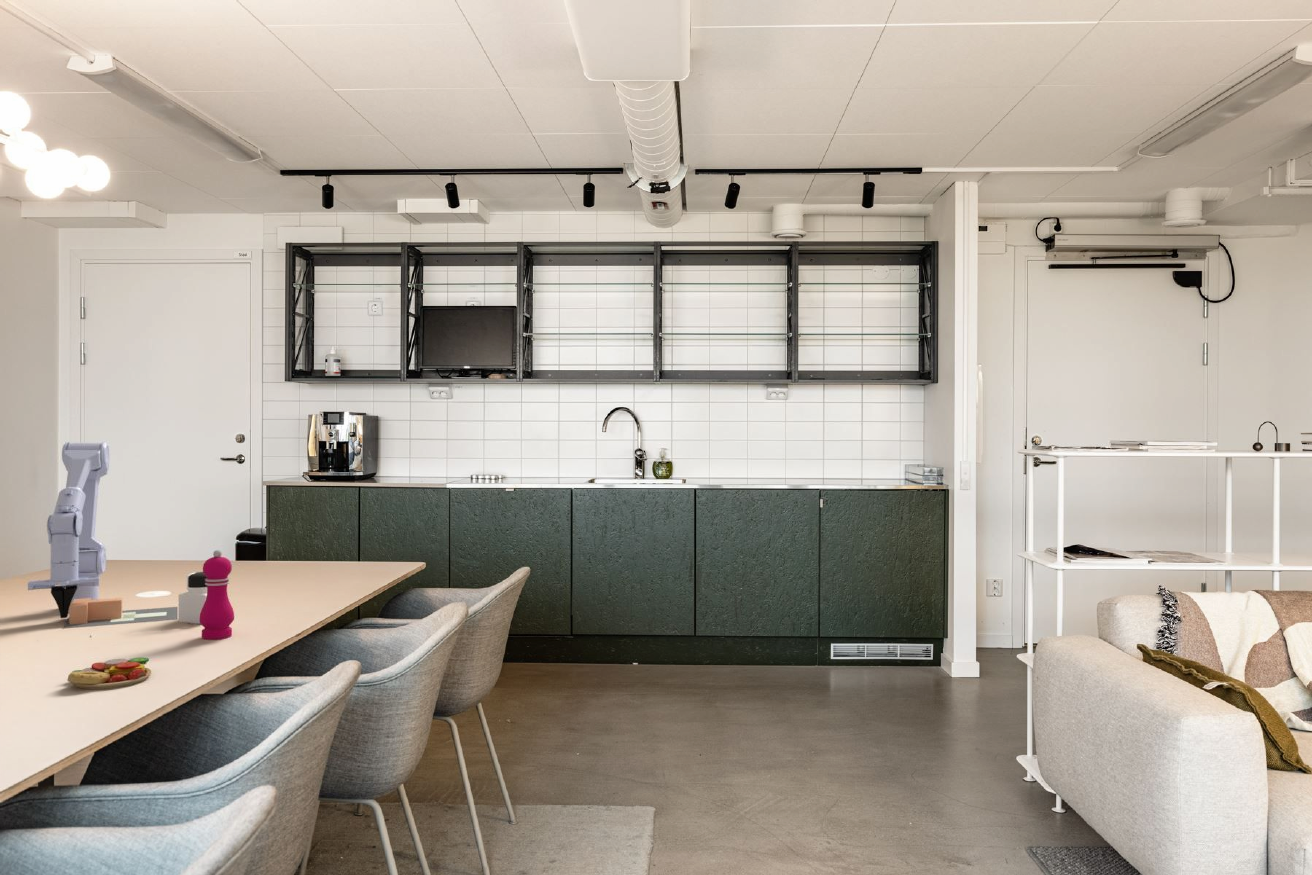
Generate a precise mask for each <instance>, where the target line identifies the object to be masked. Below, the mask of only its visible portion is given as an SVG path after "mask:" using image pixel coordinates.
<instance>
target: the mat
mask: <svg viewBox="0 0 1312 875" xmlns="http://www.w3.org/2000/svg"><path fill="white" fill-rule="evenodd" d="M178 610H179V606H169V607H154V608H143V609H141V608H139V609H130V610H122V618H119V619H106V620H93V621H88V622H87V623H86V624H73V625H70V615H68V617H67V618H66V621H65V623H64V624H63V626H62V628H61V629H62V630H63V629H75V628H86V627H87V628H88V627H99V626H102V627H103V626H112V625H113V626H114V625H125V624H137V623H139V624H141V623H151V622H163V621H178Z"/></svg>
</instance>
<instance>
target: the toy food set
mask: <svg viewBox="0 0 1312 875" xmlns="http://www.w3.org/2000/svg"><path fill="white" fill-rule="evenodd" d="M149 661H150V658H149V657H142V656H141V657H140V656H139V657H133V658H129V659H126V658H114V659H109V660H105V661H103V662H101V661H100V662H94V663H92V664H91V667H85V668H84V669H77V670H72V671H71V672H69V674H68V677H67V679H66V680H67V682H69V683H72V684H73V685H75V686H76V687H77V688H80V689H87V690H107V689H115V688H123V687H127V686H131V685H134V684H135V685H137V684H138V683H141V682H144V681H145V680H147V678H149V677H150V676H151V675H152V670H151V669H150V668H148V667H146V666H145V665H147V663H148V662H149Z"/></svg>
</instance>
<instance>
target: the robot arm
mask: <svg viewBox="0 0 1312 875" xmlns="http://www.w3.org/2000/svg"><path fill="white" fill-rule="evenodd" d="M110 455H111V454H110V446H109V445H108V443H107V442H103V441H102V442H70V441H66V442H65V443H64V444H63V445H62V450H61V461H62V463H63V465H64V468H65V470H66V471H67V474H66V475H67V476H66V484H65V488H63V489H61V490H60V491H59V492H58V495H57V499H56V500H57V501H56V504H55V507H54V511H53V513H52V514H51V515H48V518H47V522H46V532H47V537H48V544H50V567H49V568H50V569H49V570H50V573H49V574H50V575H49V576H50V578H49V579H39V580H29V581H28V582H27V591H33V590H48V589H50V594H51V596H52V597H53V600H54V601H55V603H56V605H57V608H58V611H59V616H60V617H59V618H60V619H68V618H69V614H70V605H71V603H72V602H73V600H74V599H83V598H91V600H99V586H100V584H101V577H100V576H101V575H102V574H103V573H105V571H106V569H107V568H106V567H107V555H106V553H107V552H106V551H107V549H106V547H105V545H104V544H103V543H102V542H100V541H99V540H98V539H96V538H95V537H96V536H95V535H96V522H97V509H98V508H97V507H98V495H99V485H100V481H101V478H102V477H105V476H106V475H108V471H109V469H110V468H109V467H110Z"/></svg>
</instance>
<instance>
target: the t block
mask: <svg viewBox="0 0 1312 875" xmlns="http://www.w3.org/2000/svg"><path fill="white" fill-rule="evenodd" d="M122 611H123V597H117V598H103V599H102V598H101V599H99V598H98V600H91V598H83V599H74V600H73V602H72V603H71V605H70V613H69V616H70V625H73V624H86V623H87V622H88V621H93V620H106V619H119V618H122Z"/></svg>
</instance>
